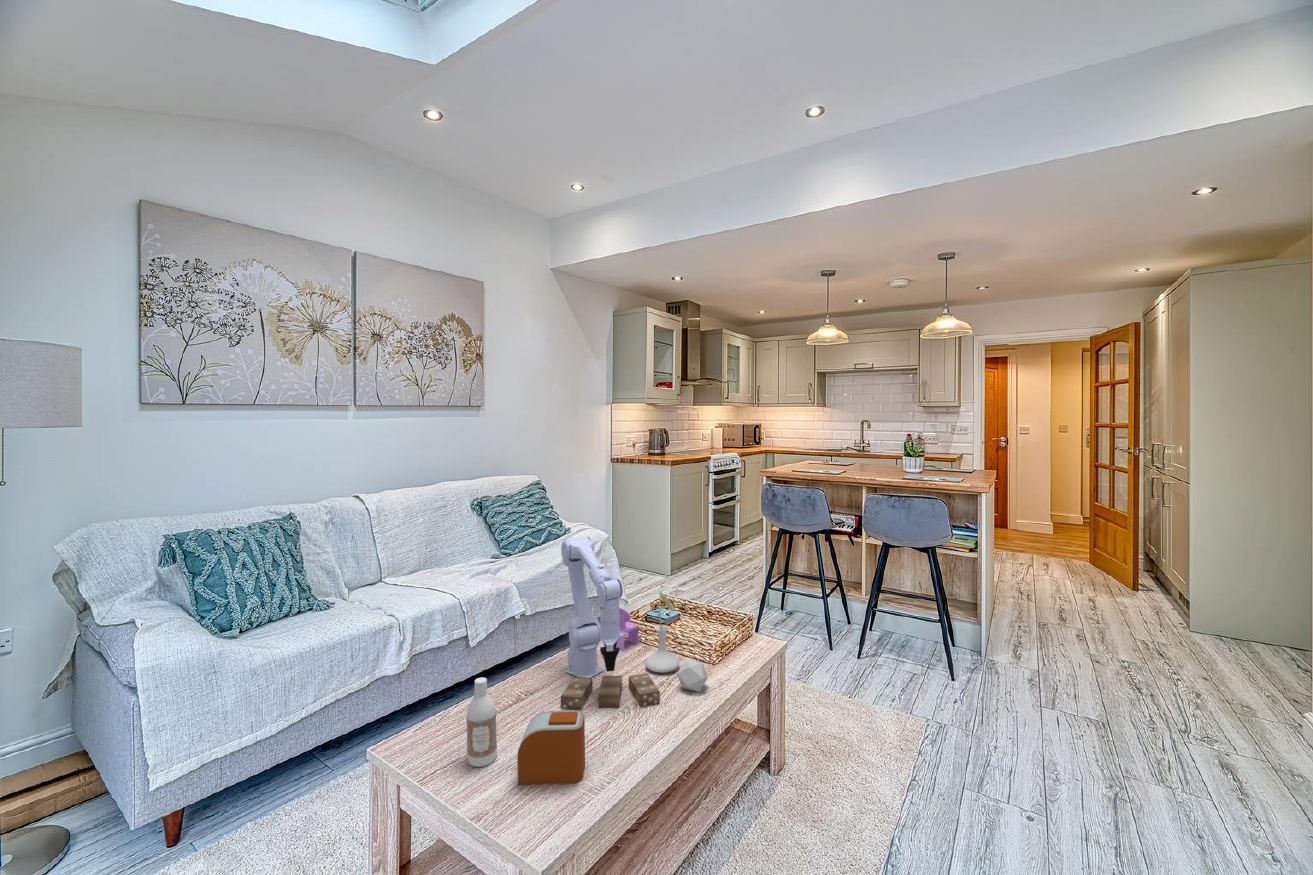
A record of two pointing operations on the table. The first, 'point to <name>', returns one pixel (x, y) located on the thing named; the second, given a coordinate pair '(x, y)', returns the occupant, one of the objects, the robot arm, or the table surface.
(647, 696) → the pip block five
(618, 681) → the plain block
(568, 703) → the pip block three
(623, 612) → the toy chair
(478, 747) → the bath foam
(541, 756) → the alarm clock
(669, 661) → the flower in vase
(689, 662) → the die
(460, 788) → the table surface
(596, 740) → the table surface
